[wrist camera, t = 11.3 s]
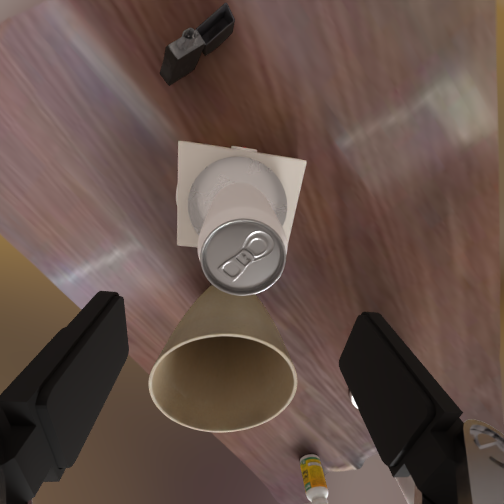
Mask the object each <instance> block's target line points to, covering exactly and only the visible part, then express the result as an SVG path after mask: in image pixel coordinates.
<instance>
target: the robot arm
mask: <svg viewBox="0 0 504 504" xmlns="http://www.w3.org/2000/svg"><path fill="white" fill-rule="evenodd" d="M128 352H129V346H128V337H127V327H126V317H125V307H124V299H123V297H121V296H119V294H118V293H117V292H108V291H99V292H98V293H97V294H96V295H95V296H94V297H93V298H92V299H91V300H90V301H89V303H88V304H87V305H86V306H85V307H84V308H83V309H82V310H81V311H80V312H79V314H78V315H77V316H76V317H75V318H74V319H73V320H72V321H71V322H70V323H69V325H68V326H67V327H65V328H63V329H61V330H60V331H59V332H58V333H57V334H56V335H55V337H54V338H53V339H52V340H51V341H50V342H49V343H48V344H47V345H46V346H45V347H44V348H43V349H42V350H41V352H40V353H39V354H38V355H37V356H36V357H35V358H34V359H33V360H32V361H31V362H30V363H29V365H28V366H27V367H26V368H25V369H24V370H23V371H22V372H21V373H20V374H19V375H18V376H17V377H16V379H15V380H14V381H13V382H12V383H11V384H10V385H9V386H8V387H7V389H5V390H4V391H3V393H2V394H1V395H0V504H32V498H33V497H35V495H36V493H37V491H38V490H39V488H40V486H41V484H42V483H43V482H57V481H60V479H61V477H62V474H63V473H64V471H65V469H66V468H70V467H71V466H72V465H73V464H74V463H75V461H76V459H77V457H78V455H79V453H80V451H81V449H82V447H83V445H84V443H85V441H86V439H87V437H88V435H89V433H90V431H91V429H92V427H93V425H94V423H95V421H96V419H97V417H98V415H99V413H100V411H101V409H102V407H103V405H104V403H105V401H106V399H107V397H108V395H109V393H110V391H111V389H112V387H113V385H114V383H115V381H116V379H117V377H118V375H119V373H120V371H121V369H122V367H123V365H124V363H125V361H126V359H127V356H128ZM339 367H340V370H341V372H342V374H343V377H344V379H345V381H346V383H347V385H348V388H349V390H350V393H349V397H350V400H351V402H352V404H353V405H354V406H355V407H356V408H358V409H359V411H360V414H361V416H362V418H363V420H364V422H365V424H366V427H367V429H368V431H369V433H370V435H371V438H372V440H373V442H374V444H375V446H376V448H377V451H378V453H379V455H380V457H381V459H382V461H383V462H384V463H385V464H386V465H387V466H388V467H389V469H390V471H391V473H392V476H393V477H395V478H396V480H397V482H398V484H399V486H400V488H401V490H402V492H403V494H404V496H405V499H406V500H407V503H408V504H504V434H502V433H501V432H500V431H498V430H497V429H495V428H494V427H492V426H490V425H488V424H486V423H484V422H482V421H479V420H475V419H470V420H466V421H465V422H464V423H463V422H462V421H461V419H460V418H459V417H460V416H461V414H462V413H463V412H462V411H461V410H460V409H459V407H458V406H457V405H456V404H455V403H454V401H453V400H452V399H451V398H450V397H449V395H448V394H447V393H446V392H445V391H444V390H443V388H442V387H441V386H440V385H439V384H438V382H437V381H436V380H435V379H434V378H433V376H432V375H431V374H430V373H429V372H428V370H427V369H426V368H425V367H424V366H423V364H422V363H421V362H420V361H419V360H418V359H417V357H416V356H415V355H414V354H413V353H412V351H411V350H410V349H409V348H408V347H407V345H406V344H405V343H404V342H403V341H402V339H401V338H400V337H399V336H398V335H397V333H396V332H395V331H394V330H393V329H392V328H391V326H390V325H389V324H388V323H387V322H386V320H385V319H384V318H383V317H382V316H381V315H380V314H379V313H374V312H363V313H362V314H361V315H359V316H358V317H357V319H356V322H355V324H354V326H353V329H352V331H351V334H350V336H349V338H348V341H347V343H346V345H345V348H344V350H343V352H342V355H341V357H340V360H339Z"/></svg>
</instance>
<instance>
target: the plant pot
mask: <svg viewBox="0 0 504 504" xmlns="http://www.w3.org/2000/svg"><path fill="white" fill-rule="evenodd" d="M296 388H297V375H296V371H295V368H294V365H293V363H292V361H291V358H290V356H289V354H288V351H287V349H286V347H285V345H284V342H283V340H282V338H281V336H280V334H279V332H278V330H277V328H276V326H275V324H274V322H273V320H272V319H271V317H270V315H269V313H268V312H267V310H266V309H265V307H264V306H263V304H262V303H261V301H260V300H259V299H258V297H257V296H256V295H255V294H253V295H247V296H238V295H232V294H228V293H225V292H223V291H221V290H219V289H217V288H216V287H215V286H213V285H211V286H210V287H209V288H208V289H207V290H205V291H204V292H203V294H202V295H201V296H200V297H199V298H198V299H197V300H196V301H195V302H194V304H193V305H192V306H191V307H190V309H189V310H188V311H187V313H186V314H185V315H184V317H183V318H182V319H181V321H180V322H179V324H178V325H177V327H176V328H175V330H174V331H173V333H172V335H171V336H170V338H169V340H168V342H167V343H166V345H165V347H164V348H163V350H162V352H161V354H160V355H159V357H158V359H157V361H156V363H155V364H154V366H153V368H152V370H151V373H150V376H149V392H150V394H151V397H152V399H153V401H154V403H155V405H156V406H157V407H158V408H159V409H160V411H161V412H162V413H163V414H164V415H166V416H167V417H168V418H170V419H171V420H173V421H175V422H177V423H179V424H181V425H183V426H186V427H189V428H192V429H195V430H200V431H206V432H233V431H240V430H245V429H249V428H252V427H255V426H258V425H261V424H263V423H265V422H267V421H269V420H271V419H273V418H274V417H276V416H277V415H278V414H280V413H281V412H282V411H283V410H284V409H285V408H286V407H287V406H288V405H289V403H290V402H291V400H292V399H293V397H294V395H295V392H296Z"/></svg>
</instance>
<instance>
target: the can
mask: <svg viewBox="0 0 504 504" xmlns="http://www.w3.org/2000/svg"><path fill="white" fill-rule="evenodd" d="M286 254H287V240H286V235H285V232H284V230H283V228H282V226H281V224H280V222H279V220H278V218H277V216H276V214H275V212H274V211H273V209H272V207H271V205H270V204H269V202H268V200H267V198H266V197H265V195H264V194H263V193H262V192H261V191H260V190H259V189H257V188H256V187H254V186H253V185H251V184H248V183H242V182H238V183H232V184H229V185H227V186H225V187H223V188H222V189H221V190H219V191H218V193H217V194H216V195H215V197H214V198H213V200H212V203H211V205H210V208H209V210H208V213H207V215H206V218H205V220H204V223H203V226H202V229H201V231H200V235H199V239H198V256H199V260H200V263H201V267H202V270H203V273H204V275H205V276H206V278H207V279H208V281H209V282H210V283H211V284H212V285H213V286H215V287H216V288H217V289H219V290H221V291H223V292H225V293H228V294H232V295H238V296H247V295H253V294H257V293H260V292H262V291H264V290H266V289H268V288H269V287H270V286H272V285H273V284H274V283H275V282H276V281H277V280H278V279H279V277H280V276H281V274H282V272H283V270H284V267H285V263H286Z"/></svg>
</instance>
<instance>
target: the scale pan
mask: <svg viewBox="0 0 504 504" xmlns="http://www.w3.org/2000/svg"><path fill="white" fill-rule="evenodd" d="M238 182H242V183H248V184H251V185H253V186H254V187H256V188H257V189H259V190H260V191H261V192H262V193H263V194H264V195H265V197H266V198H267V200H268V202H269V204H270V205H271V207H272V209H273V211H274V212H275V214H276V216H277V218H278V220H279V222H280V224H281V226H282V227H283V224H284V222H285V218H286V214H287V198H286V194H285V190H284V188H283V185H282V183H281V182H280V180H279V178H278V177H277V176H276V174H275V173H274V172H273V171H272V170H271V169H270V168H268V167H267V166H266V165H264V164H263V163H261V162H259V161H257V160H254V159H252V158H247V157H241V156H233V157H227V158H223V159H220V160H217V161H215V162H213V163H211V164H210V165H209V166H207V167H206V168H205V169H204V170H203V171H202V172H201V173H200V174H199V175H198V176H197V178H196V179H195V181H194V183H193V184H192V187H191V189H190V193H189V197H188V213H189V218H190V221H191V224H192V226H193V228H194V230H195V231H196V233H197V234H198V235H200V231H201V229H202V226H203V223H204V220H205V218H206V215H207V213H208V210H209V208H210V205H211V203H212V200H213V198H214V197H215V195H216V194H217V193H218V191H219V190H221V189H222V188H223V187H225V186H227V185H229V184H232V183H238Z"/></svg>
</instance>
